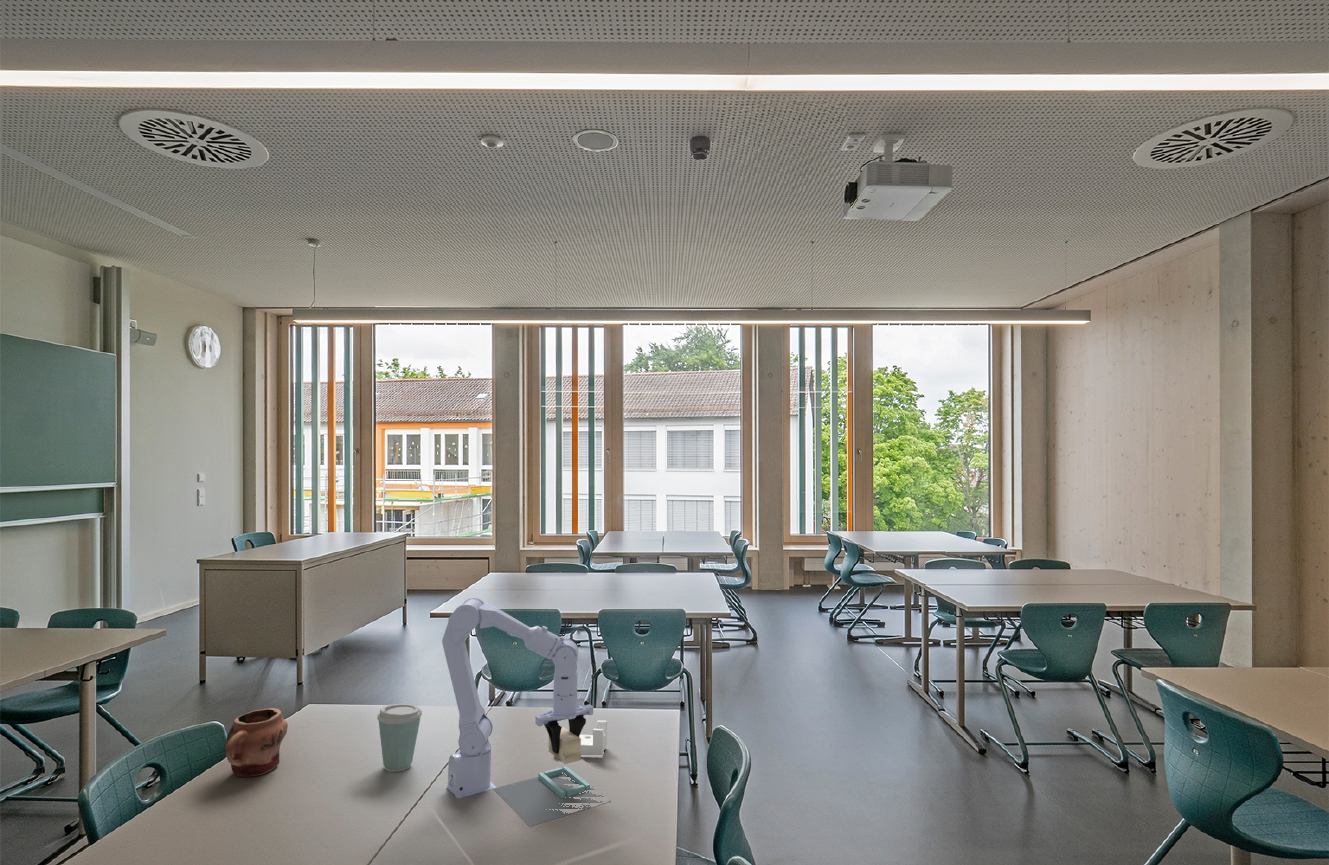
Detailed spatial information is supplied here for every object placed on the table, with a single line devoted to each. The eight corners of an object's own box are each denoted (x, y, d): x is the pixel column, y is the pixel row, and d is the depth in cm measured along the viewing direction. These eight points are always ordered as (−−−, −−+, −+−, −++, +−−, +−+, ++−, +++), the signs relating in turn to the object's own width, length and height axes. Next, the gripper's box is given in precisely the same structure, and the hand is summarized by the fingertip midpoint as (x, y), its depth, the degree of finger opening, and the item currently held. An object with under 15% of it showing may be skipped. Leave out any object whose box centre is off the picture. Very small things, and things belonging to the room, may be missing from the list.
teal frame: (561, 798, 160) (561, 792, 160) (538, 778, 170) (538, 773, 170) (590, 789, 164) (590, 784, 164) (566, 770, 174) (566, 765, 174)
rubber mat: (529, 829, 147) (529, 826, 147) (492, 791, 164) (493, 788, 164) (611, 804, 158) (611, 801, 158) (569, 770, 175) (569, 768, 176)
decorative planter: (256, 790, 163) (258, 730, 164) (202, 791, 163) (205, 730, 163) (297, 756, 183) (299, 702, 184) (250, 756, 183) (252, 702, 183)
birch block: (548, 751, 170) (548, 730, 170) (563, 747, 172) (563, 726, 172) (565, 764, 162) (565, 742, 163) (580, 760, 165) (580, 738, 165)
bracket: (606, 748, 190) (607, 720, 191) (602, 759, 183) (602, 730, 184) (559, 746, 192) (560, 718, 192) (553, 757, 184) (554, 728, 185)
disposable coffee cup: (406, 755, 184) (408, 697, 185) (429, 766, 178) (430, 706, 178) (367, 768, 176) (369, 707, 177) (390, 780, 169) (391, 717, 170)
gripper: (544, 702, 161) (543, 762, 160) (599, 691, 169) (598, 748, 168) (532, 694, 166) (531, 752, 166) (585, 684, 175) (584, 739, 174)
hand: (564, 750), depth 167 cm, fingers closed on birch block, 4 cm apart
